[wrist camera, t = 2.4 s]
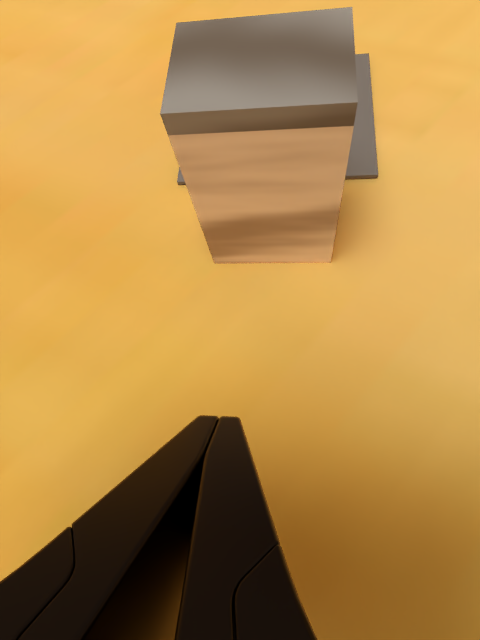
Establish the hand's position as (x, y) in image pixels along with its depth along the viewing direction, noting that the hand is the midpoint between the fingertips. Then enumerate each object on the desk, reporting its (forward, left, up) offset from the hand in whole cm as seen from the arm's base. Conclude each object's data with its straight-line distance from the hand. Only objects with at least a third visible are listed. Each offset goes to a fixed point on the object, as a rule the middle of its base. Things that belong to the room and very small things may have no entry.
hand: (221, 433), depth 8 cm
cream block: (+10, -10, -13) cm, 19 cm away
